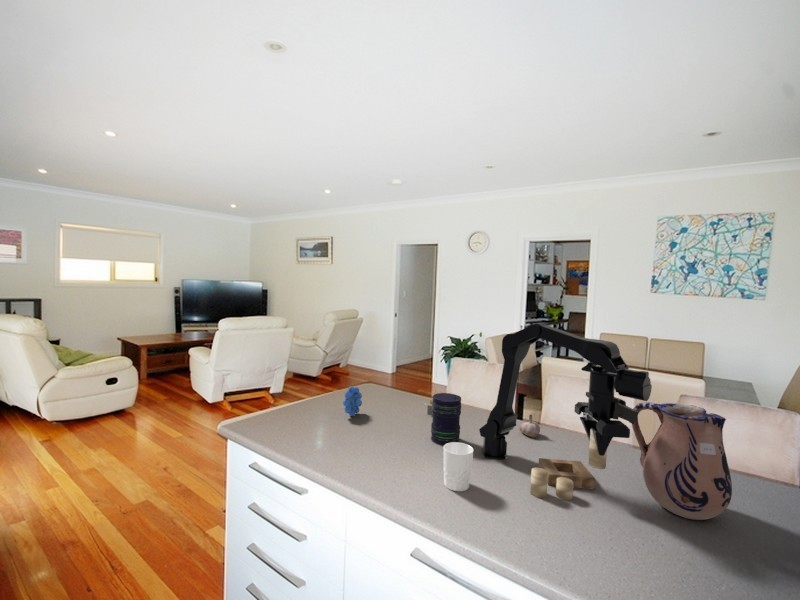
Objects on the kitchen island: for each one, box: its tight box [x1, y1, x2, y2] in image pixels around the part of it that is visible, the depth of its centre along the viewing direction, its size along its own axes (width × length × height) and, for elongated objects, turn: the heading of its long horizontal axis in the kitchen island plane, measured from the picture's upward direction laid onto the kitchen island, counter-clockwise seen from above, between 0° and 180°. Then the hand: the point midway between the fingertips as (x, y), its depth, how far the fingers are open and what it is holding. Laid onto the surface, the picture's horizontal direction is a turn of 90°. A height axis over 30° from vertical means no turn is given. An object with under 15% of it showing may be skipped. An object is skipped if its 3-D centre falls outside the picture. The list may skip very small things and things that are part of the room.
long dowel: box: [587, 428, 608, 470], centre depth 99 cm, size 4×4×9 cm
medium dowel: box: [529, 467, 548, 499], centre depth 101 cm, size 4×4×6 cm
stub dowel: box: [555, 477, 574, 501], centre depth 101 cm, size 4×4×4 cm
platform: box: [424, 398, 433, 417], centre depth 158 cm, size 12×18×7 cm, turn 56°
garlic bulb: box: [518, 413, 541, 438], centre depth 142 cm, size 8×7×8 cm
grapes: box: [342, 386, 363, 417], centre depth 153 cm, size 12×7×12 cm, turn 153°
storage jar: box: [430, 392, 462, 447], centre depth 133 cm, size 10×10×15 cm
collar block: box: [537, 457, 596, 490], centre depth 110 cm, size 12×10×3 cm
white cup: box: [442, 441, 475, 492], centre depth 104 cm, size 8×8×10 cm
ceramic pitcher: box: [631, 401, 733, 521], centre depth 97 cm, size 18×21×25 cm
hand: (597, 451), depth 99 cm, fingers closed on long dowel, 4 cm apart
